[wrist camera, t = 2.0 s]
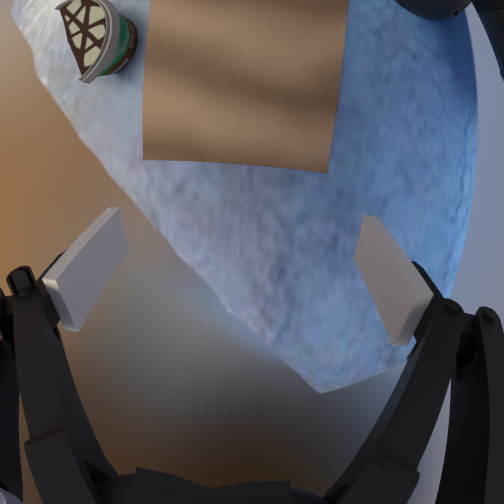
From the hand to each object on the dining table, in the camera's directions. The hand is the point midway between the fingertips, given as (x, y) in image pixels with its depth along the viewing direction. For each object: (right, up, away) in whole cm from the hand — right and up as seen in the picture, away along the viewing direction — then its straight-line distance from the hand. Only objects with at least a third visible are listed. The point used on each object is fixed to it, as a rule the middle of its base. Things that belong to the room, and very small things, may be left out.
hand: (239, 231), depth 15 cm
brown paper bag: (+1, +26, +12) cm, 29 cm away
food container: (-16, +27, +12) cm, 34 cm away
